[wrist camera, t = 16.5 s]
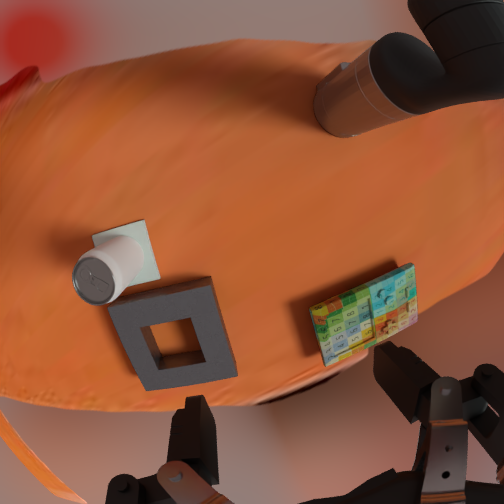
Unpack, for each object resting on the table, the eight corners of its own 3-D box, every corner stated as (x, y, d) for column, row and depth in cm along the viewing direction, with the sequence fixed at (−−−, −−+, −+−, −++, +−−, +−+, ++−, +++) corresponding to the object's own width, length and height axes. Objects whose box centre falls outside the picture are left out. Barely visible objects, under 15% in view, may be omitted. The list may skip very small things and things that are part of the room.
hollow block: (115, 297, 39) (107, 307, 35) (211, 276, 40) (210, 285, 37) (150, 377, 43) (146, 391, 39) (236, 362, 44) (237, 376, 40)
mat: (93, 235, 37) (91, 235, 36) (144, 219, 37) (143, 219, 37) (110, 289, 39) (108, 290, 38) (160, 277, 40) (160, 278, 39)
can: (117, 226, 37) (81, 241, 25) (152, 250, 38) (128, 275, 26) (99, 262, 37) (62, 287, 26) (132, 285, 39) (105, 319, 27)
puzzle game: (420, 322, 43) (327, 369, 42) (407, 312, 47) (318, 355, 46) (417, 265, 40) (312, 313, 39) (401, 259, 45) (303, 301, 44)
